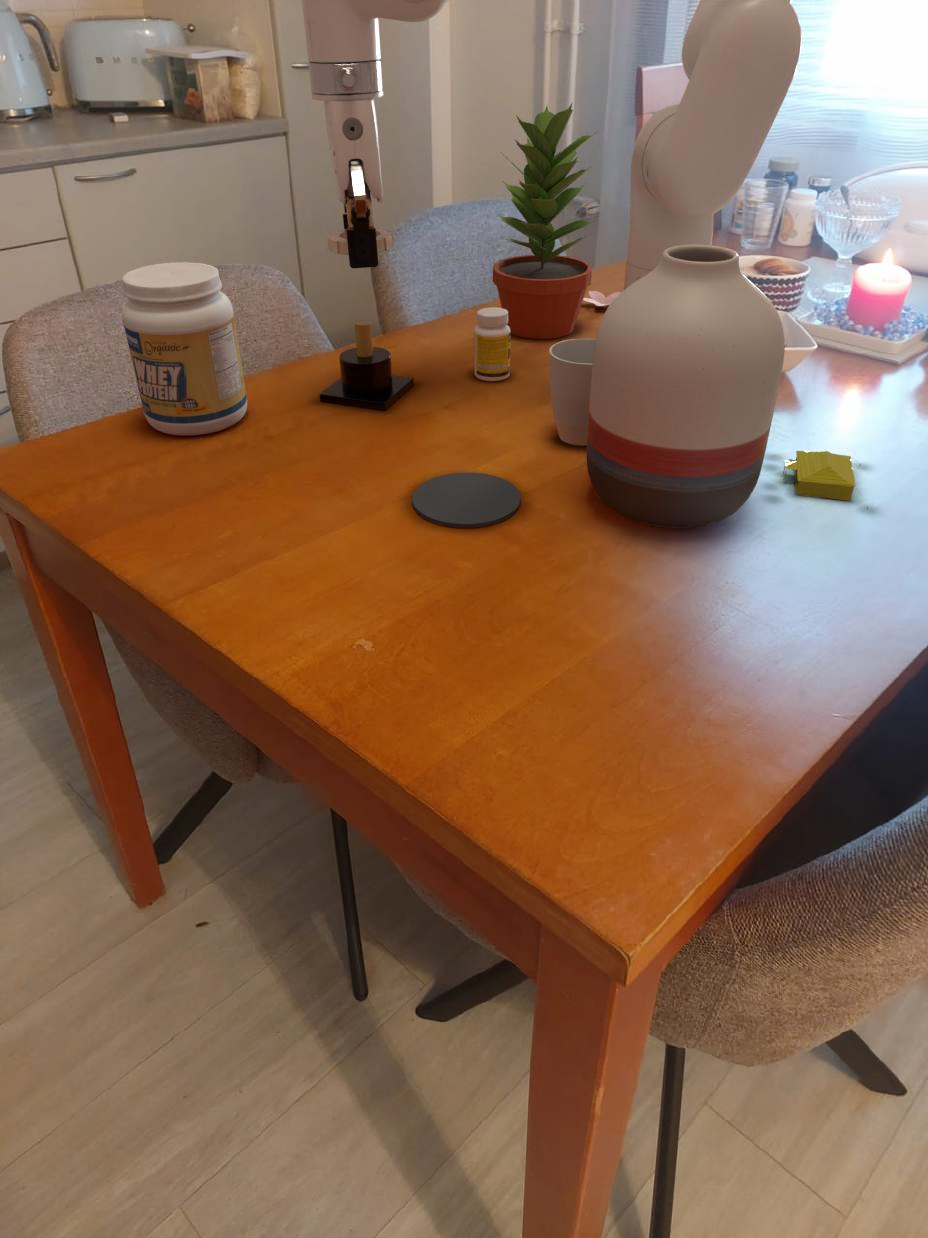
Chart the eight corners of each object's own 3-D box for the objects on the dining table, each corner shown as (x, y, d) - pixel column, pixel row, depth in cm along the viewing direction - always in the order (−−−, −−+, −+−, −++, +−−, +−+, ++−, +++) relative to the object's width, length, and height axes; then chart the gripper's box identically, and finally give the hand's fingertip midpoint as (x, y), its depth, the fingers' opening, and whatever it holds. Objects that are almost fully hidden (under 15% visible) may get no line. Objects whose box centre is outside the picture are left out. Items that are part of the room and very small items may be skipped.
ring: (403, 241, 105) (402, 228, 104) (376, 256, 99) (375, 243, 98) (346, 237, 107) (345, 225, 106) (317, 252, 101) (315, 239, 101)
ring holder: (414, 385, 116) (410, 315, 111) (385, 410, 109) (380, 337, 104) (351, 377, 119) (345, 308, 114) (320, 401, 112) (312, 329, 107)
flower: (625, 318, 138) (626, 308, 137) (564, 310, 141) (564, 300, 140) (643, 301, 145) (644, 291, 144) (584, 294, 148) (585, 284, 148)
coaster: (534, 485, 93) (534, 481, 93) (500, 536, 84) (500, 531, 84) (436, 470, 96) (436, 465, 96) (394, 517, 88) (394, 512, 87)
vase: (787, 526, 85) (847, 269, 72) (625, 554, 82) (655, 288, 68) (700, 453, 99) (737, 224, 85) (557, 474, 95) (571, 238, 81)
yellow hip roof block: (867, 509, 88) (875, 483, 86) (771, 498, 90) (776, 472, 88) (860, 466, 96) (866, 441, 94) (771, 456, 98) (776, 432, 96)
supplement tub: (125, 432, 105) (88, 284, 95) (182, 394, 114) (154, 256, 104) (216, 444, 102) (188, 293, 92) (267, 404, 111) (246, 263, 101)
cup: (622, 427, 105) (630, 342, 99) (608, 455, 98) (616, 367, 93) (555, 418, 107) (559, 335, 101) (537, 446, 101) (541, 359, 95)
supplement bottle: (515, 379, 117) (516, 314, 112) (481, 384, 116) (481, 318, 111) (502, 367, 121) (503, 304, 116) (469, 371, 120) (468, 308, 115)
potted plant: (521, 307, 143) (527, 90, 126) (605, 323, 136) (624, 96, 118) (467, 331, 133) (466, 100, 116) (555, 351, 126) (567, 108, 109)
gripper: (389, 87, 87) (401, 275, 97) (375, 73, 101) (387, 238, 111) (312, 90, 86) (332, 280, 96) (309, 75, 100) (326, 242, 110)
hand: (361, 256), depth 104 cm, fingers closed on ring, 7 cm apart
